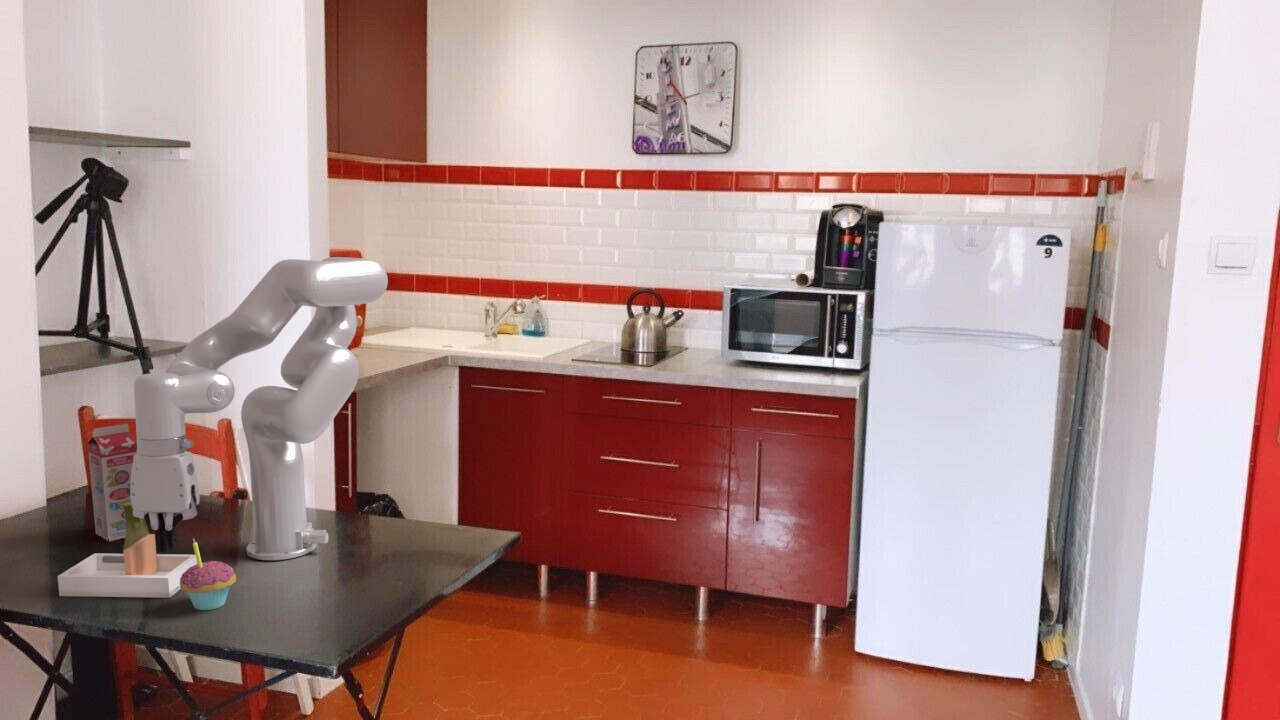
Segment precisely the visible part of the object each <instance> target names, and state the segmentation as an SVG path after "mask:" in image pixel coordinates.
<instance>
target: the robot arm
mask: <svg viewBox="0 0 1280 720" xmlns="http://www.w3.org/2000/svg"><path fill="white" fill-rule="evenodd" d="M388 283H389V279H388V274H387V271H386V270H385V268H384V267H383V265H382V264H381V263H379V262H378V261H376V260H374V259H371V258H361V257H359V258H358V257H346V256H333V257H332V256H331V257H327V258H324V259H321V260H312V259H311V260H310V259H294V258H292V259H291V258H290V259H283V260H281V261H280V260H279V261H278V262H277V263H275V264H273V266H272V267H271V268H270V269H269V270H268V271H267V272H266V274H265V275H264V276H263V277H262V279H260V281H259V282H258V283H257V284H256V285H255V286H254V287H253V289H252V290H251V291H250V292H249V294H247V296H246V297H245V298H244V300H243V301H242V302H241V303H240V304H239V306H237V307H236V309H234V311H232V313H231V314H230V315H228V316H227V317H225V318H223V319H222V320H220V321H218V322H217V323H216V324H214V325H213V326H211V327H209V328H207V329H206V330H205V331H203V332H202V333H201V334H199V335H198V336H196V337H194V339H193V340H191V341H190V342H189V343H188V344H187V345H186V346H185V347H184V348H183V349H182V350H181V351H180V352H179V354H177V356H176V357H175V358H174V360H173V361H172V362H171V363H170V365H169V366H168V367H167V368H166V370H165V372H153V373H144V374H141V375H139V376H137V378H136V379H135V381H134V383H133V393H134V411H135V412H134V415H135V431H136V445H137V454H135V455H134V459H133V464H132V471H131V487H130V494H131V505H132V508H133V516H135V517H138V518H142V519H145V520H146V523H148V524H149V525H150V527H151V530H154V534H155V544H156V549H157V554H162V553H163V554H164V553H165V554H168V553H170V552H171V551H174V549H176V547H177V545H178V529H177V527H179V525H180V524H181V523H182V522H183V521H187V520H190V519H194V518H195V517H197V516H198V511H197V507H196V506H198V505H199V504H200V490H199V481H198V473H197V469H196V464H195V461H194V456H193V454H192V453H193V452H192V451H187V450H188V449H193V447H194V441H193V440H191V439H189V438H187V434H186V421H185V420H186V417H185V415H186V414H209V413H210V414H211V413H216V412H220V411H222V410H224V409H225V408H227V407H228V406H229V405H230V404H231V403H232V402H233V400H234V398H235V393H236V387H235V384H234V382H233V381H232V379H231V378H230V377H229V376H228V375H227V374H225V373H224V372H223V371H219V369H220V368H222V366H224V365H225V364H226V363H228V362H229V361H232V360H233V359H235V358H237V357H239V356H242V355H245V354H248V353H251V352H252V353H253V352H254V351H257V350H260V349H262V348H264V347H267V346H269V345H271V344H272V343H273V342H274V340H276V338H277V337H278V336H279V334H280V333H282V331H283V329H285V327H286V325H288V323H289V322H290V321H291V319H292V318H293V317H294V316H295V315H296V313H298V312H299V310H300V309H301V308H302V307H305V306H306V307H315V313H314V315H313V317H312V319H311V321H310V322H309V324H307V327H306V328H305V329H304V331H303V332H302V334H300V336H299V337H298V338H297V340H296V341H295V342H294V344H292V345H293V346H291V348H290V350H289V351H288V352H287V353H286V355H285V357H284V358H283V359H282V362H281V364H280V375H281V378H282V379H283V381H284V383H286V384H287V385H289V386H290V387H292V388H289V387H285V386H283V387H282V386H277V385H263V386H259V387H256V388H255V389H253V390H252V391H250V392H249V393H248V394H247V395H246V397H245V398H244V400H243V403H242V406H241V411H240V414H241V415H240V417H241V418H240V419H241V422H242V424H241V425H242V428H243V432H244V435H245V441H246V444H247V449H248V458H249V474H250V475H249V476H250V488H251V490H250V492H251V503H252V505H251V506H252V507H251V508H252V519H253V520H252V521H253V533H254V534H253V535H254V539H253V541H251V542H249V544H247V546H246V549H245V550H246V555H247V556H248V557H250V558H251V559H255V560H260V561H283V560H290V559H294V558H299V557H301V556H302V557H303V556H305V555H307V554H309V553H311V552H312V551H314V550H315V549H316V548H317V544H328V542H329V533H328V532H327V530H326V529H314V528H313V522H311V521H310V522H309V521H307V520H308V519H307V505H306V504H307V503H306V502H307V501H306V489H305V464H304V463H305V462H304V455H303V450H302V446H301V445H306V444H309V443H313V442H314V441H316V440H317V439H319V438H320V437H321V436H322V434H324V433H325V432H326V430H327V428H329V426H330V425H331V423H332V422H333V421H334V419H335V417H336V416H337V415H338V413H339V412H340V410H341V409H342V408H343V406H344V405H345V403H346V401H348V398H350V396H351V395H352V393H353V391H354V389H355V388H356V386H357V383H358V379H359V376H360V366H359V361H358V359H357V357H356V355H355V354H354V352H352V351H351V350H350V349H348V348H349V346H350V344H351V343H352V342H353V339H354V337H355V336H356V331H357V327H358V326H357V325H358V323H357V311H356V308H355V307H356V306H355V305H364V304H371V303H374V302H376V301H378V300H379V299H380V298H381V297H383V296H384V294H385V293H386V290H387V288H388ZM293 388H294V389H293Z"/></svg>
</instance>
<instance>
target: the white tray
mask: <svg viewBox="0 0 1280 720" xmlns="http://www.w3.org/2000/svg"><path fill="white" fill-rule="evenodd" d="M103 556H124V554H123V553H93V554H91V555H90V556H88V557H86V558H84V559H83V560H81V561H80V562H78V563H77V564H75V565H73V566H72V567H70V568H69V569H67V570H65V571H63V572H62V573H60V574H59V575H57V584H58V594H59V597H94V598H95V597H98V598H99V597H102V598H103V597H105V598H106V597H107V598H108V597H109V598H111V597H112V598H161V599H162V598H169V599H170V598H171V597H172V596H174V595H175V594H176V593H177V592H179V591H180V590H182V589H181V587H180V577H181V576H182V574H183V573H184V572H185V571H187V570H186V569H188V568H190V567H192V566H194V565H197V560H196V555H195V554H175V553H173V554H171V553H170V554H168V553H165V554H164V553H163V554H162V553H156V556H157V569H158V570H156V571H155V572H154V573H152V574H151V575H126V573H125V563H103V562H102V558H103Z"/></svg>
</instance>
